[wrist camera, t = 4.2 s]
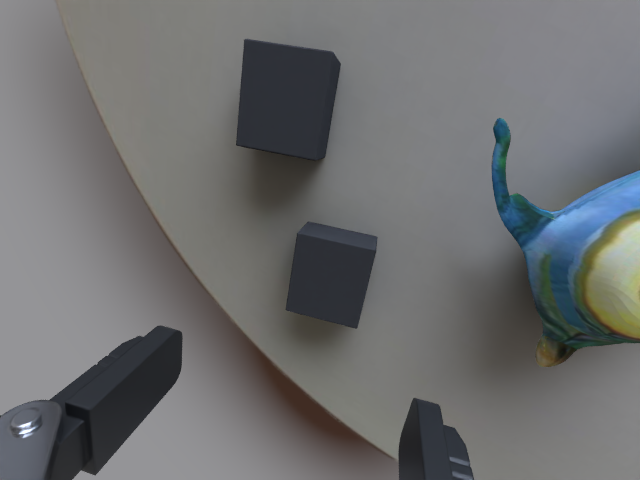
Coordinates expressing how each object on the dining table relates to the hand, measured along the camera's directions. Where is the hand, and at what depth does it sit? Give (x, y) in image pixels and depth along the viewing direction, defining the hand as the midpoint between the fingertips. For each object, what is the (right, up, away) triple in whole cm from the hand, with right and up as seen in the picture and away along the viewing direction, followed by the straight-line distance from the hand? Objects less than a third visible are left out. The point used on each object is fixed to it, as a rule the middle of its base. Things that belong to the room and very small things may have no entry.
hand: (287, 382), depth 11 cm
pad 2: (+2, +3, +10) cm, 11 cm away
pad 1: (0, +12, +8) cm, 15 cm away
